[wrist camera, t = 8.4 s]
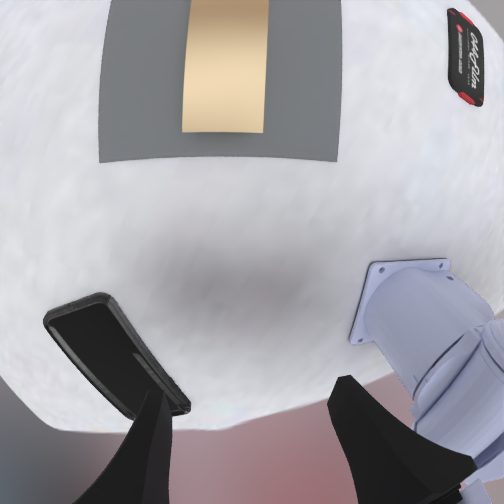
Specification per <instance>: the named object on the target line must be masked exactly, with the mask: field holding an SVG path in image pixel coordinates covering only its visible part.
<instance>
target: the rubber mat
mask: <svg viewBox="0 0 504 504" xmlns="http://www.w3.org/2000/svg"><path fill="white" fill-rule="evenodd" d="M191 1H192V0H112V1H111V5H110V10H109V15H108V21H107V27H106V33H105V39H104V47H103V55H102V64H101V75H100V90H99V119H98V135H99V163H105V162H114V161H125V160H137V159H150V158H168V157H195V156H249V157H276V158H294V159H308V160H320V161H330V162H337V156H338V144H339V130H340V114H341V92H342V15H341V0H269V11H268V34H267V57H266V79H265V100H264V121H263V133H237V132H182V116H183V91H184V73H185V59H186V47H187V36H188V26H189V17H190V8H191Z"/></svg>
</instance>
